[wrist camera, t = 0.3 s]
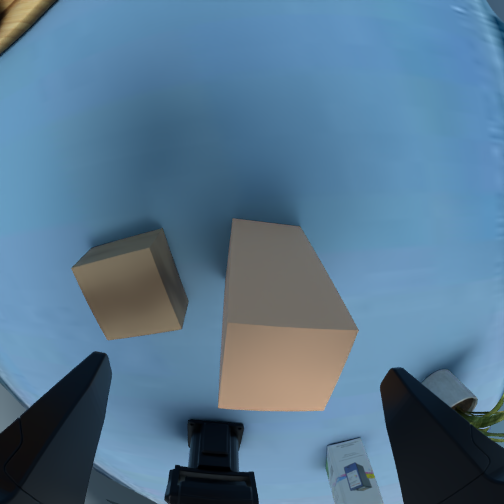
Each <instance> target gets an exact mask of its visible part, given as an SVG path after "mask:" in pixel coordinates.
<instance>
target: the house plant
mask: <svg viewBox="0 0 504 504" xmlns="http://www.w3.org/2000/svg"><path fill="white" fill-rule="evenodd" d="M422 384H423V385H424V386H425V387H427V388H428V389H429V390H430V391H431V392H433V393H434V394H435V395H436V396H438V397H439V398H440V399H441V400H442V401H444V402H445V403H446V404H447V405H449V406H450V407H451V408H452V409H453V410H455V411H456V412H457V413H458V414H460V415H461V416H462V417H463V418H464V419H466V420H467V421H468V422H469V423H470V424H472V425H473V426H474V427H475V428H477V429H478V430H479V431H480V432H482V433H483V434H484V435H485V436H499V437H502V436H504V434H503V433H498V434H497V433H488V432H487V431H488V429H489V427H488V426H491V425H493V424H496V423H498V422H500V421H502V420H504V411H501V412H497V411H498V410H499V409H500V407H501V406H502V404H503V402H504V401H503V399H504V394H503V396H502V398H501V399H500V401H499V402H498V404H497V405H496V406H495V407H494V408H493V409H492V410H491V411H490V412H472V411H473V410H474V408H475V407H476V405H477V400H478V399H477V397H476V396H475V395H474V394H473V393H472V392H471V391H470V390H469V389H468V388H467V387H466V386H465V385H464V384H463V383H462V382H460V381H459V380H458V379H457V378H456V377H455V376H454V375H453V374H452V373H451V372H450V371H449V370H447V369H442V370H439V371H436V372H434V373H433V374H431V375H430V376H428V377H427V378H426V379H425V380H424V381H423V382H422ZM471 413H473V414H484V415H473V414H471ZM493 414H495V415H493ZM469 415H471V416H469ZM491 415H492V416H491ZM476 416H482V417H476ZM484 427H488V428H486V429H479V428H484ZM490 439H491V440H492V441H494V442H504V439H494V438H490Z"/></svg>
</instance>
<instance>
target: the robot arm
mask: <svg viewBox="0 0 504 504" xmlns="http://www.w3.org/2000/svg"><path fill="white" fill-rule="evenodd" d="M111 378H112V371H111V367H110V363H109V358H108V355H107V354H106V353H102V352H96V351H95V352H93V353H91V354H90V355H89V356H88V357H87V358H86V359H84V360H83V361H82V362H81V363H80V364H79V365H77V366H76V367H75V368H74V369H73V370H72V371H71V372H69V373H68V374H67V375H66V376H65V377H64V378H63V379H61V380H60V381H59V382H58V383H57V384H56V385H55V386H53V387H52V388H51V389H50V390H49V391H48V392H47V393H45V394H44V395H43V396H42V397H41V398H40V399H39V400H38V401H36V402H35V403H34V404H33V405H32V406H31V407H30V408H29V409H27V410H26V411H25V412H24V413H23V414H22V415H21V416H20V418H17V419H16V420H15V421H14V422H13V423H12V424H11V425H10V426H8V427H7V428H6V429H5V430H4V431H3V432H1V433H0V504H84V502H85V496H86V492H87V488H88V483H89V478H90V474H91V470H92V466H93V462H94V457H95V453H96V450H97V446H98V442H99V438H100V434H101V431H102V427H103V423H104V419H105V413H106V407H107V401H108V395H109V389H110V384H111ZM380 392H381V398H382V404H383V410H384V416H385V423H386V428H387V432H388V436H389V440H390V444H391V448H392V452H393V456H394V460H395V465H396V469H397V473H398V478H399V483H400V487H401V492H402V497H403V502H404V504H504V448H503V447H501V446H500V445H498V444H497V443H495V442H494V441H492V440H491V439H490V438H488V437H487V436H485V435H484V434H483V433H482V432H480V431H479V430H478V429H477V428H475V427H474V426H473V425H472V424H470V423H469V422H468V421H467V420H466V419H464V418H463V417H462V416H461V415H460V414H458V413H457V412H456V411H455V410H453V409H452V408H451V407H450V406H449V405H447V404H446V403H445V402H444V401H442V400H441V399H440V398H439V397H438V396H436V395H435V394H434V393H433V392H431V391H430V390H429V389H428V388H427V387H425V386H424V385H423V384H422V383H420V382H419V381H418V380H417V379H416V378H414V377H413V376H412V375H411V374H409V373H408V372H407V371H406V370H404V369H403V368H401V367H397V368H391V369H390V370H389V371H388V373H387V374H386V376H385V378H384V379H383V381H382V382H381V385H380ZM243 431H244V425H243V424H235V423H221V422H209V421H199V420H188V447H189V448H190V453H189V464H188V467H183V466H180V465H175V469H173V470H170V472H169V479H168V485H167V489H166V493H165V499H164V500H165V501H166V502H167V503H168V504H259V501H258V493H257V488H256V482H255V476H254V472H239V458H238V451H239V448H240V444H241V439H242V435H243Z"/></svg>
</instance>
